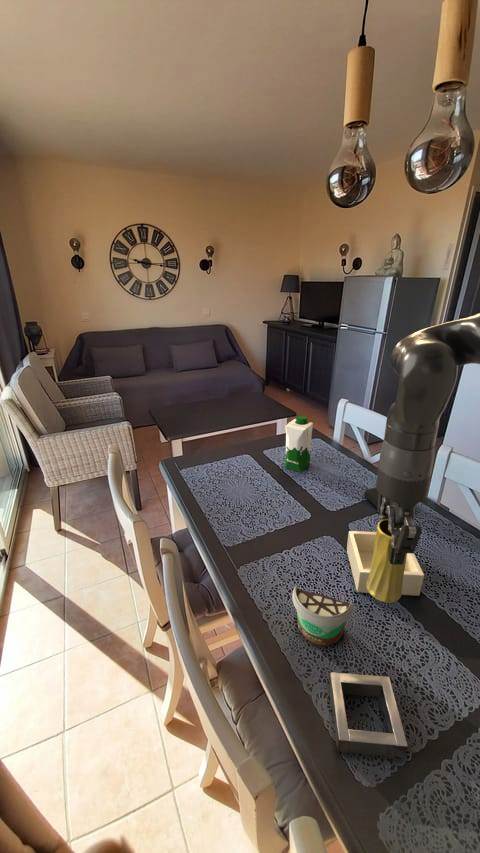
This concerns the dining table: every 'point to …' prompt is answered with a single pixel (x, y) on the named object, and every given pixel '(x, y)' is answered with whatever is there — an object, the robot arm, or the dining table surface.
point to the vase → (385, 568)
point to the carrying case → (372, 496)
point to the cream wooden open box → (361, 559)
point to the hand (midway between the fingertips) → (390, 549)
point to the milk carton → (298, 443)
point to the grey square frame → (367, 740)
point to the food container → (320, 616)
